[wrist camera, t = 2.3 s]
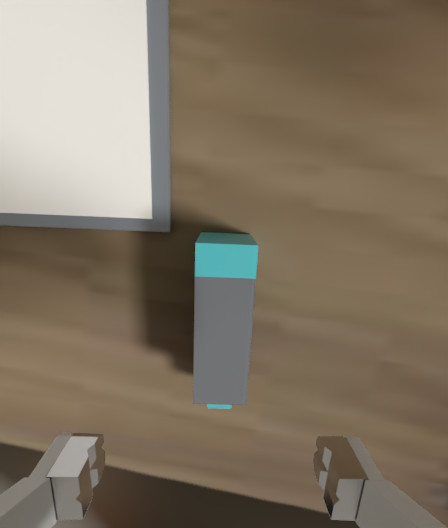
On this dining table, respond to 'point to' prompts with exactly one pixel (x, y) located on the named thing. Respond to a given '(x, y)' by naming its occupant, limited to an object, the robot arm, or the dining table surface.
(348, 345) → the dining table surface
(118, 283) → the dining table surface
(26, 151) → the clipboard
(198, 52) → the dining table surface
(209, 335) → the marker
